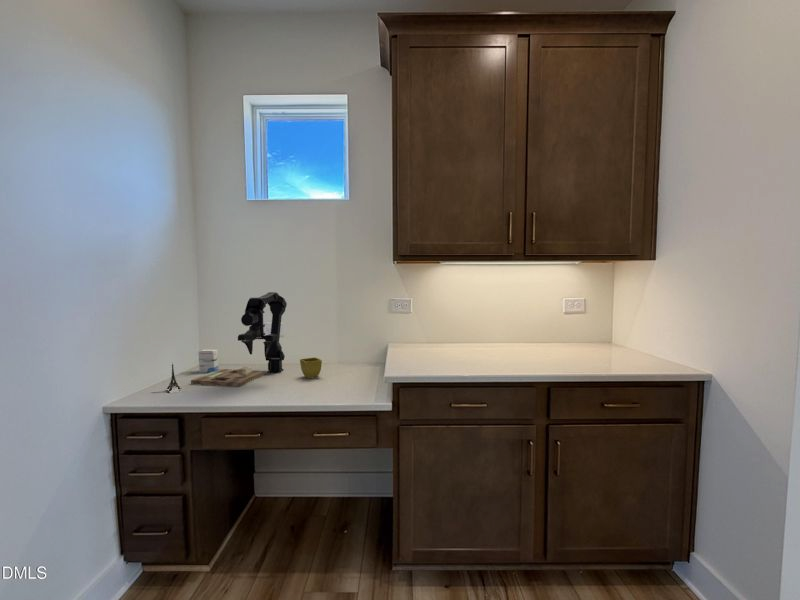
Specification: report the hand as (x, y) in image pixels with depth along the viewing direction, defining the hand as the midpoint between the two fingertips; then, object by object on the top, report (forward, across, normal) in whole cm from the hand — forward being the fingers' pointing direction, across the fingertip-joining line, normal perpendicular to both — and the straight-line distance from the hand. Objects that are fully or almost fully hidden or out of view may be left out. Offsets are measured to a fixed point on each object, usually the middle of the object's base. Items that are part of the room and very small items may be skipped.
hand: (258, 354), depth 204 cm
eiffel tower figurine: (+14, -31, -21) cm, 40 cm away
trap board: (+13, -16, 0) cm, 21 cm away
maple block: (+11, -8, 0) cm, 14 cm away
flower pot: (+13, +23, +11) cm, 28 cm away
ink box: (+13, -37, +13) cm, 42 cm away
